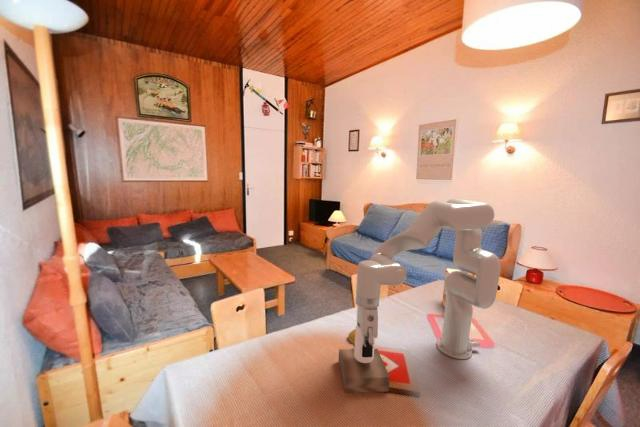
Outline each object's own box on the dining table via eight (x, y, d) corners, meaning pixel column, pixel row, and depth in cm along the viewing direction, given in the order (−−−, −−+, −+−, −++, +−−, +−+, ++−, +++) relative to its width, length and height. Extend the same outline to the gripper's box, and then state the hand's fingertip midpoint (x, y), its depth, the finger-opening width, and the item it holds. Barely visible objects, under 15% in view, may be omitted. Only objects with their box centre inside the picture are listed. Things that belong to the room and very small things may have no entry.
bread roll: (361, 350, 108) (362, 341, 107) (345, 339, 115) (345, 330, 114) (375, 342, 113) (375, 333, 113) (358, 332, 120) (358, 323, 119)
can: (374, 353, 96) (377, 321, 94) (371, 366, 90) (374, 331, 88) (356, 349, 98) (358, 317, 96) (352, 361, 92) (354, 327, 90)
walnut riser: (376, 361, 102) (377, 348, 101) (388, 391, 88) (389, 377, 88) (338, 361, 101) (339, 349, 100) (344, 392, 87) (345, 378, 86)
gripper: (387, 312, 82) (383, 367, 85) (371, 287, 99) (368, 333, 102) (362, 313, 81) (358, 368, 84) (350, 287, 98) (348, 334, 101)
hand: (364, 348), depth 93 cm, fingers closed on can, 6 cm apart
